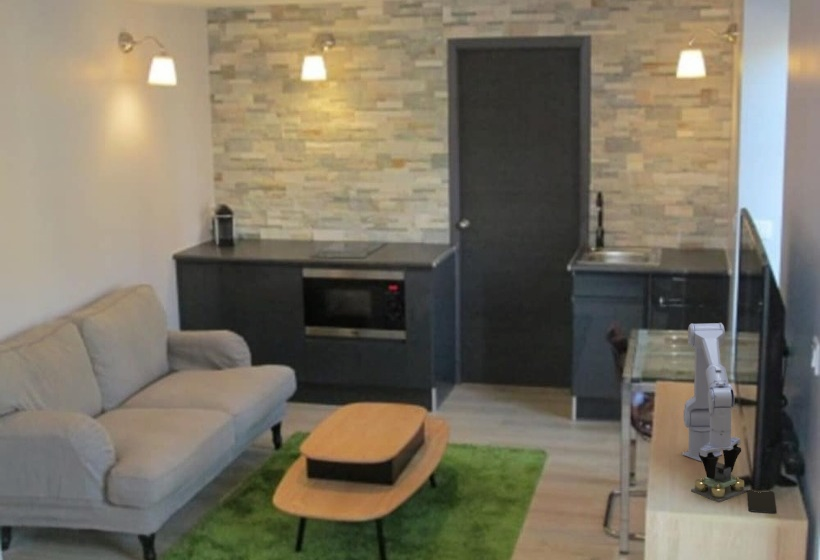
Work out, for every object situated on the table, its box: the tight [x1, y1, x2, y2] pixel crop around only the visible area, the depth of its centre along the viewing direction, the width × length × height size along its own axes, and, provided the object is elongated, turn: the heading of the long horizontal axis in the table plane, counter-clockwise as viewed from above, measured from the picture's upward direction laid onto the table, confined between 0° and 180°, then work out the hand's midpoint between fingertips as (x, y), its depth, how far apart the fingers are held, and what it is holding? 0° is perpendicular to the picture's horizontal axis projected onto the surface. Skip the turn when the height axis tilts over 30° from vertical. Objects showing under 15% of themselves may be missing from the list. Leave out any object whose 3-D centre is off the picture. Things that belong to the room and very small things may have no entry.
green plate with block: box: [703, 461, 737, 488], centre depth 308 cm, size 9×7×5 cm
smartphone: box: [746, 489, 778, 515], centre depth 301 cm, size 7×1×15 cm
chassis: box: [690, 476, 749, 503], centre depth 309 cm, size 12×10×4 cm
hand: (719, 474), depth 309 cm, fingers open, 7 cm apart
